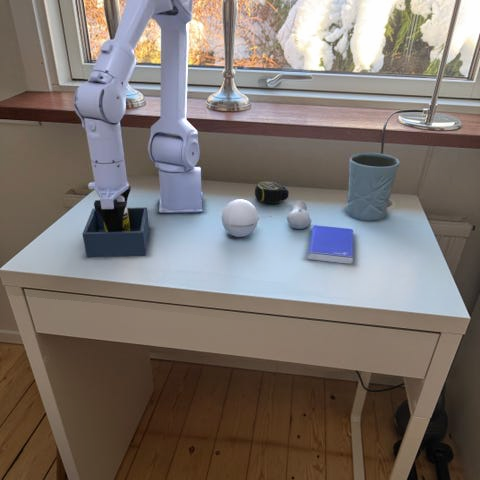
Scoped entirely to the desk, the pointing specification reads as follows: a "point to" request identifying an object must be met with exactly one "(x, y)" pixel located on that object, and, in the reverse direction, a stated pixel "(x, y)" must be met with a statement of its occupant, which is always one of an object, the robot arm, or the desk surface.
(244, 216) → the seamed sphere
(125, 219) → the supplement bottle
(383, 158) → the embossed planter pot
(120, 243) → the desk bin
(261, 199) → the tape measure
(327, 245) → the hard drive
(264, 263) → the desk surface
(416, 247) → the desk surface
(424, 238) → the desk surface
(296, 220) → the pale two-lobed sculpture
